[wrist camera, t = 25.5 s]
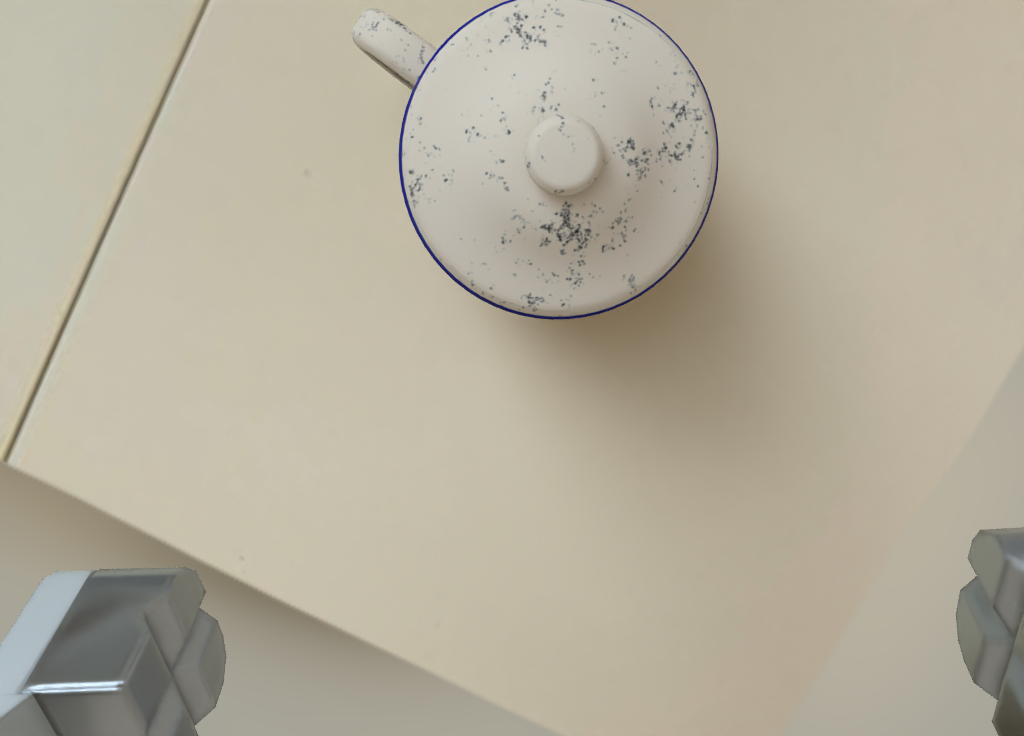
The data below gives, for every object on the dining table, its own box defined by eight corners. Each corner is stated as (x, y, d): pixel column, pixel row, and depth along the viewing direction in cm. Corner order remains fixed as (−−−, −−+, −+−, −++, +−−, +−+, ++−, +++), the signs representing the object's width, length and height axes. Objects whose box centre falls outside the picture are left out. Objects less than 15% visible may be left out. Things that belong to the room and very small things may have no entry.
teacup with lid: (716, 142, 34) (821, 111, 22) (572, 338, 35) (603, 402, 24) (453, -57, 33) (422, -198, 21) (314, 154, 34) (215, 128, 23)
